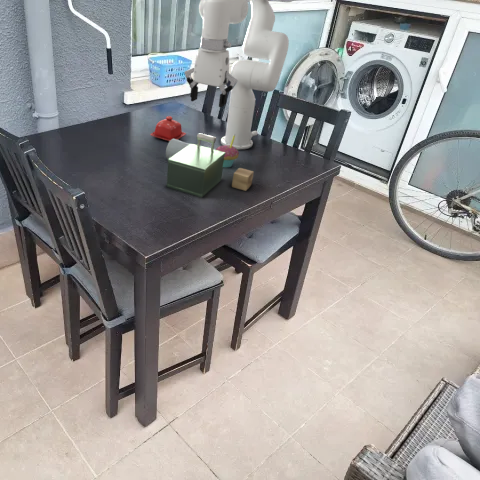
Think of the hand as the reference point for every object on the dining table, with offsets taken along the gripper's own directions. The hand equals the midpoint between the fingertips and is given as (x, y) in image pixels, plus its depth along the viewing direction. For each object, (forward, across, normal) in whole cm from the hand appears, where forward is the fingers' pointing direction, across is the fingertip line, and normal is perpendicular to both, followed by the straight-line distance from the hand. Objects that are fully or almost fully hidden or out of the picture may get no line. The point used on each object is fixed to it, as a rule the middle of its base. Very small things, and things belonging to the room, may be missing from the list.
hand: (207, 103), depth 139 cm
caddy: (+25, -1, +7) cm, 26 cm away
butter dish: (+24, +26, -23) cm, 43 cm away
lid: (+16, -1, +7) cm, 17 cm away
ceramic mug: (+25, +12, -7) cm, 28 cm away
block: (+25, -15, 0) cm, 29 cm away
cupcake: (+25, -4, -12) cm, 28 cm away
